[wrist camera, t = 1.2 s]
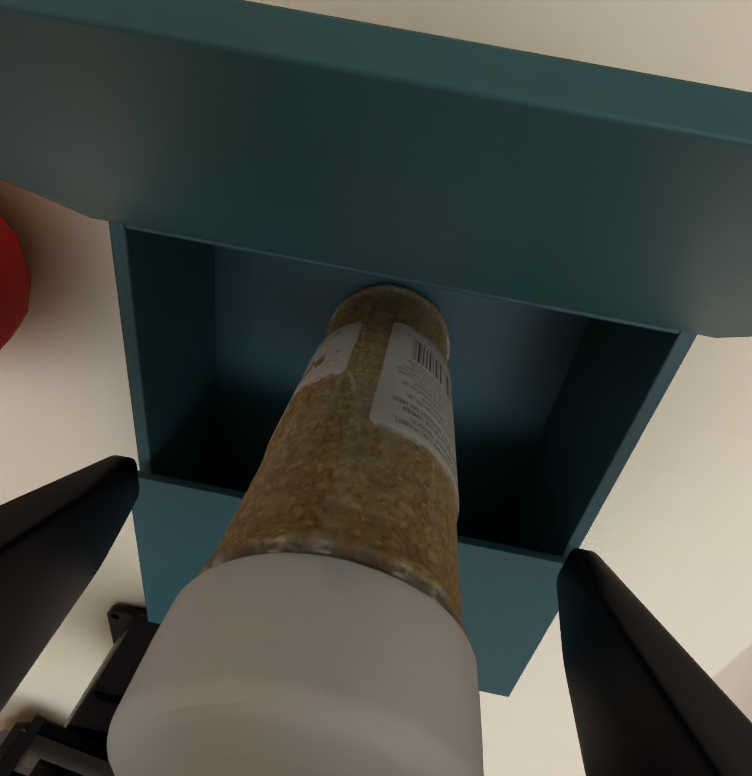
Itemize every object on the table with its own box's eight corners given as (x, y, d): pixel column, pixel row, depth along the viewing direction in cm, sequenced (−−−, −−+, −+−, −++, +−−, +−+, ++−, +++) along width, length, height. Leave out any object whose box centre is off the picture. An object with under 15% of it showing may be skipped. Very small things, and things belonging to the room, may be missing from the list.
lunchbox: (206, 183, 15) (86, 212, 10) (621, 261, 15) (721, 334, 10) (214, 507, 23) (146, 623, 17) (492, 564, 22) (509, 698, 17)
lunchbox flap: (89, 217, 10) (91, 204, 10) (716, 338, 10) (720, 324, 10) (-676, -118, 3) (-677, -169, 3) (1619, 303, 3) (1640, 249, 3)
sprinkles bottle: (314, 292, 16) (6, 706, 5) (444, 271, 15) (468, 716, 4) (343, 402, 18) (181, 878, 7) (459, 390, 18) (503, 911, 6)
